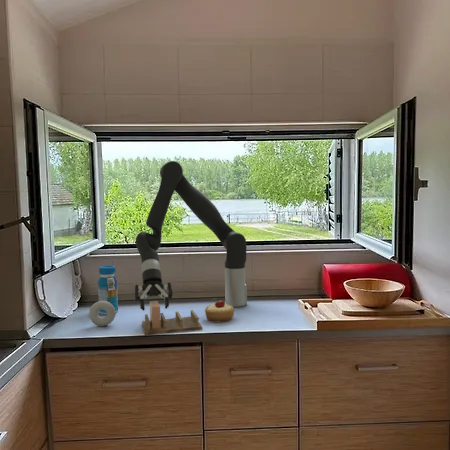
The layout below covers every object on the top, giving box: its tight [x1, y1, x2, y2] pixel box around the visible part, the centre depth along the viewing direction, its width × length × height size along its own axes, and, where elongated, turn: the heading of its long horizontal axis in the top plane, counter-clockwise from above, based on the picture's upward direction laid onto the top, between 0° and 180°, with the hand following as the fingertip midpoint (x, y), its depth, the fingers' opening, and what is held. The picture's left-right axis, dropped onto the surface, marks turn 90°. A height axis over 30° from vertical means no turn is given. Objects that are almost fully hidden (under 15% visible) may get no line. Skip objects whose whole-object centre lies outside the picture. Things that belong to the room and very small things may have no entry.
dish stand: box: [141, 309, 203, 336], centre depth 157 cm, size 21×14×4 cm, turn 105°
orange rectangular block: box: [149, 300, 161, 329], centre depth 156 cm, size 3×9×8 cm, turn 15°
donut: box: [88, 300, 117, 327], centre depth 159 cm, size 10×4×10 cm, turn 99°
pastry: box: [204, 297, 235, 323], centre depth 166 cm, size 12×12×9 cm
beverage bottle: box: [97, 265, 119, 315], centre depth 179 cm, size 8×8×20 cm
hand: (155, 308), depth 155 cm, fingers open, 8 cm apart
